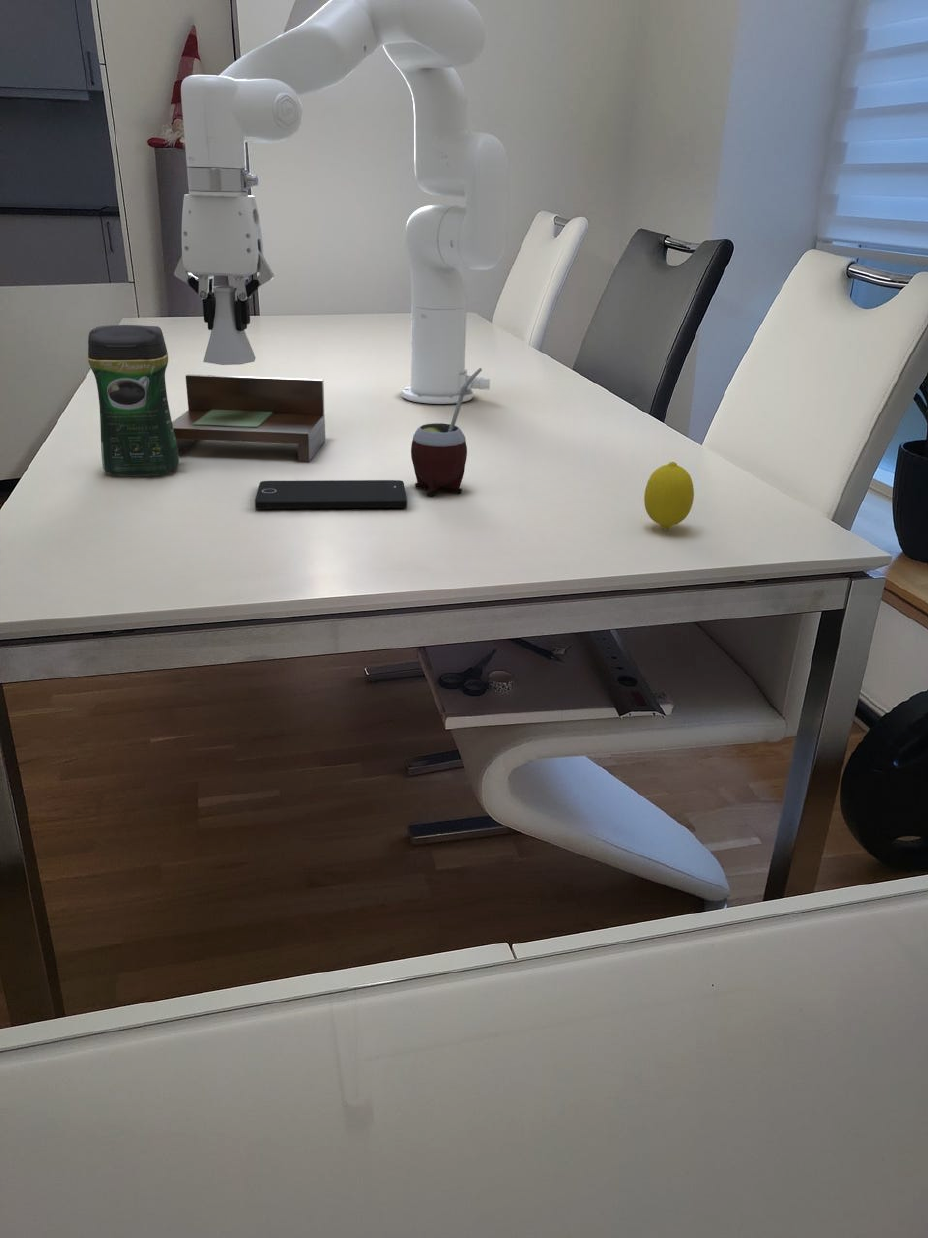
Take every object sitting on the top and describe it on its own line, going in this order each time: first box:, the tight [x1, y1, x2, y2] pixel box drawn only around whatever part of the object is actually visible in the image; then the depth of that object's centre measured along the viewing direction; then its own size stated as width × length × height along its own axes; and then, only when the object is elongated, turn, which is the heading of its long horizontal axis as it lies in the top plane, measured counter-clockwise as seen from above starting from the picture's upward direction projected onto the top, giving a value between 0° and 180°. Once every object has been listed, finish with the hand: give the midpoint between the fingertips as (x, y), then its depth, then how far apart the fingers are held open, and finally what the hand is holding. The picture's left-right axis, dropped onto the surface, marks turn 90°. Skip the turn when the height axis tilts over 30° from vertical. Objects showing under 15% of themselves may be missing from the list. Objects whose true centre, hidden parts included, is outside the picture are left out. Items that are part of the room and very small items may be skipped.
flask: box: [202, 285, 257, 366], centre depth 138 cm, size 7×7×10 cm
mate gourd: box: [410, 367, 483, 498], centre depth 126 cm, size 8×8×15 cm
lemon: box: [643, 461, 695, 530], centre depth 115 cm, size 6×6×8 cm
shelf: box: [172, 374, 326, 463], centre depth 143 cm, size 20×12×9 cm, turn 87°
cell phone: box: [254, 479, 408, 510], centre depth 123 cm, size 9×18×1 cm, turn 96°
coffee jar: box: [87, 324, 180, 477], centre depth 129 cm, size 10×8×19 cm
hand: (227, 327), depth 138 cm, fingers closed on flask, 3 cm apart
